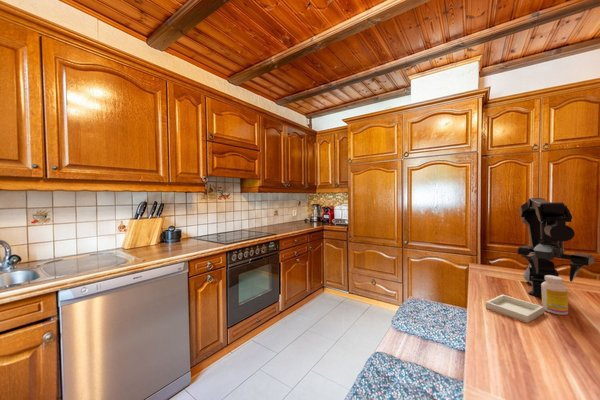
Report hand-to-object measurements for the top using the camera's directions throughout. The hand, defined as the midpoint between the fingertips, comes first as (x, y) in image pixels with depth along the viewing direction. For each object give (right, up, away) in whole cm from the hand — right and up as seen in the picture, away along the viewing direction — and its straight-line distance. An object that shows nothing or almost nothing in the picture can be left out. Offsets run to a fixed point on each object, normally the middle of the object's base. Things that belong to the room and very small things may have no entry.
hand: (553, 277), depth 87 cm
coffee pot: (+23, -11, +27) cm, 38 cm away
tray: (-13, -14, +2) cm, 19 cm away
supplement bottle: (+1, -13, 0) cm, 13 cm away
